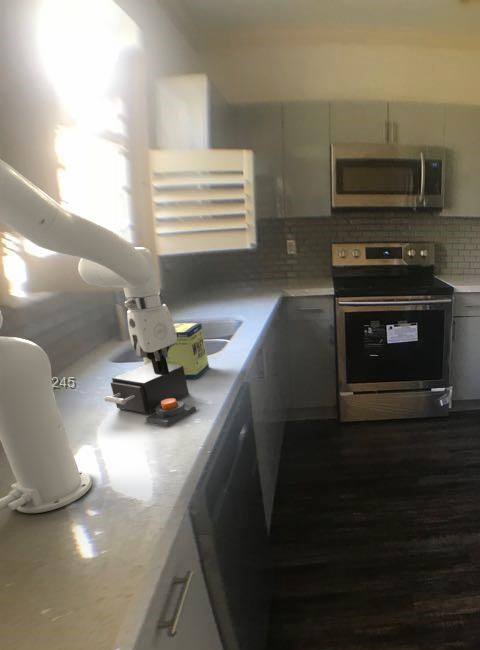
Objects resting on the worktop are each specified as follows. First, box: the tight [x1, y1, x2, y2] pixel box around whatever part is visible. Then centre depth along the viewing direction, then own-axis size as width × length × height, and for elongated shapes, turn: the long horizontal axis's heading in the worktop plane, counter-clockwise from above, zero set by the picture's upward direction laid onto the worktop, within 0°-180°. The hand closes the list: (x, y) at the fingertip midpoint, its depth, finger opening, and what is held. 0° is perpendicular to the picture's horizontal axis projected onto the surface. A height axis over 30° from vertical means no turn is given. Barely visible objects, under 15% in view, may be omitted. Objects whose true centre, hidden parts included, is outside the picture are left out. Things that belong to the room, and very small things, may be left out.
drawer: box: [104, 381, 149, 414], centre depth 124 cm, size 17×10×7 cm, turn 159°
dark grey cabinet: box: [111, 362, 190, 415], centre depth 128 cm, size 14×12×9 cm
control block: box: [145, 400, 197, 428], centre depth 119 cm, size 10×7×3 cm
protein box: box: [146, 322, 210, 380], centre depth 147 cm, size 10×16×16 cm
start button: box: [161, 398, 177, 409], centre depth 119 cm, size 4×4×2 cm
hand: (162, 373), depth 116 cm, fingers closed
